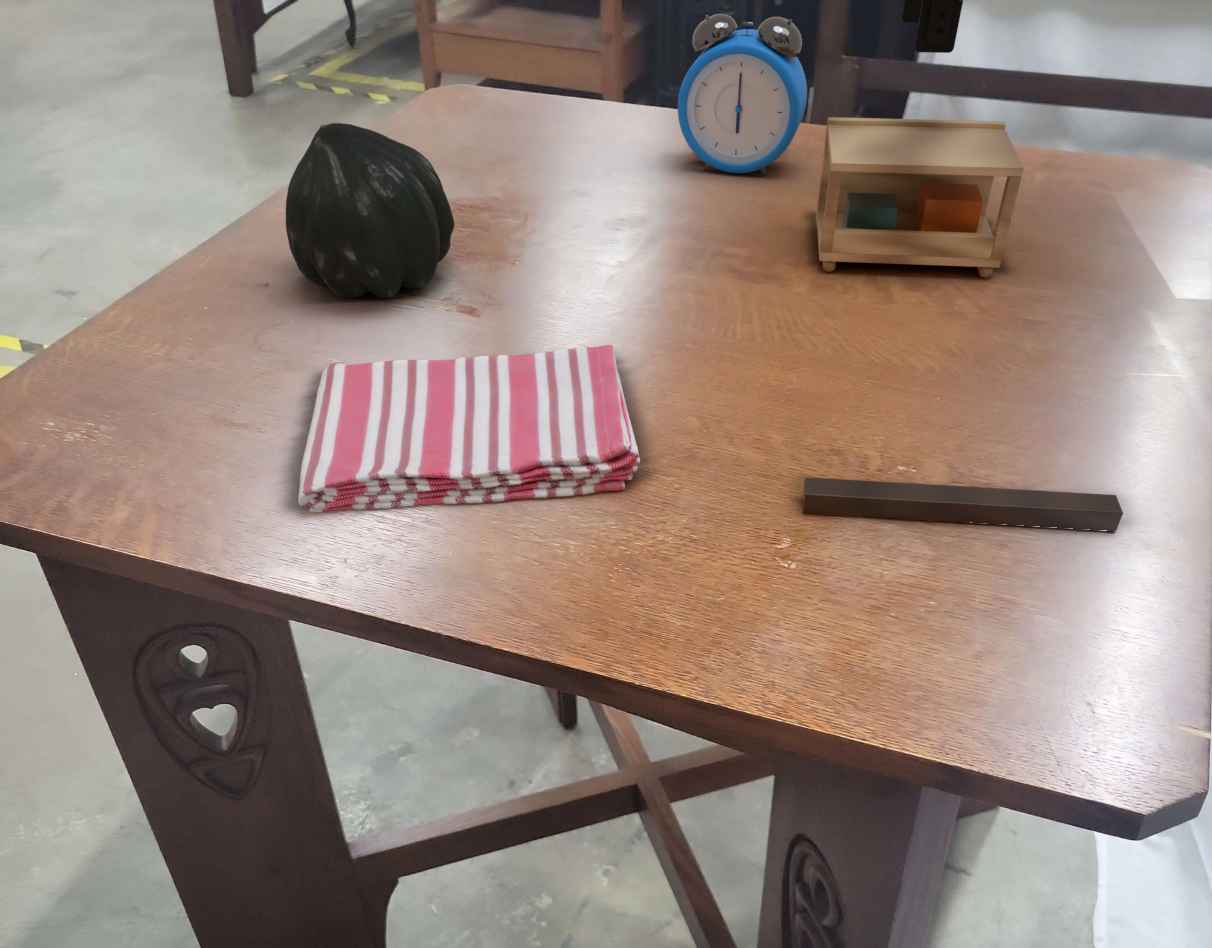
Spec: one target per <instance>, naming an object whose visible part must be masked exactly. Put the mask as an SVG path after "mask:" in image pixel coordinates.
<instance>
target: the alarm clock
mask: <svg viewBox="0 0 1212 948" xmlns="http://www.w3.org/2000/svg"><path fill="white" fill-rule="evenodd" d="M704 17H705V18H704V20H702V21H701V22H699V24H698V25H697V27H695V30H694V31H693V34H692V38H691V39H692V40H691V41H692V48H693V50H694V52H699V51H702V50H703V51H702V52H701V53H700V54H699V56H698V57H697V58H696V59H695V61H694V62H693V63H692V65H691V66H690V67H689V69H688V70H687V72H686V73H685V75H684V78H683V79H682V83H681V85H680V88H679V92H678V97H677V118H678V124H679V127H680V131H681V134H682V135H683V138H684V140H685V142H686V144H687V145H688V147H689V148H690V150H691V151H692V152H693V153H694V154H695V155H696V157H698V158H699V159H700V160H701V161H703V162H704V163H705V164H704V166H703V169H704V170H705V171H706V170H707V169H708V167H709V166H710V167H712V168H713V169H715V170H719V171H721V172H724V173H730V174H747V173H753V172H756V171H759V170H760V171H761V173H762V174H763V176H764V175H766V176H767V170H766V167H768V166H769V165H771V164H773V163H774V162H775V161H776V160H778V159H779V158H780V157H781V156H782V155H783V154H784V153H785V152H786V150H787V149H788V148H789V146H790V145H791V143H792V142H793V140H794V137H795V136H796V134H797V131H798V129H799V128H800V125H801V123H802V120H803V118H804V114H805V111H806V107H807V102H808V85H807V84H808V83H807V78H806V74H805V71H804V67H803V66H802V63H801V61H800V60H799V58H798V56H799V55H800V53H801V50H802V47H803V39H802V34H801V32H800V30H799V29H798V27H797V26H796V24H795V23H794V22H793V19H792V18H789V19H787V18H785V17H781V16H771V17H768V18H767V19H765V20H764V21H762V22H761V24H760V25H759V26H758V28H757V29H753V28H752V29H751V28H749V27H753V26H754V25H753V24H754V22H753V21H742V26H743V27H746V29H745V28H744V29H738V24H737V22H736V20H735V19H734V18H733V17H732V16H731V15H729V14H725V13H716V14H713V15H711V16H709V14H706V15H705V16H704ZM737 29H738V30H737ZM704 170H703V171H704Z"/></svg>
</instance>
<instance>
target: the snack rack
mask: <svg viewBox="0 0 1212 948" xmlns="http://www.w3.org/2000/svg"><path fill="white" fill-rule="evenodd" d="M1006 127H1007V123H1006V122H1005V121H1003V120H1001V121H999V120H967V119H966V120H962V119H961V120H960V119H959V120H957V119H922V118H920V119H919V118H918V119H917V118H882V117H881V118H879V117H876V118H875V117H873V118H872V117H836V116H835V117H834V116H829V117H827V121H826V129H825V137H824V144H823V145H824V146H823V155H822V163H821V169H820V170H821V171H820V179H819V188H818V196H817V203H816V204H817V205H816V206H817V207H816V211H815V222H816V233H817V234H816V235H817V247H818V261H819V262H822V263H821V264H822V269H823V270H824V272H827V273H830V272H831V273H832V272H833V271H834V270H835V269H836V266H837V262H838V263H839V262H840V263H866V264H893V265H919V266H944V267H945V266H946V267H974V268H976V269H977V272H978V274H979V276H980V277H981V278H983V279H987V278H989V277H991V276H992V274H993V273H994V269H993V268H996V269H997V268H1001V263H1002V259H1003V256H1004V251H1005V247H1006V243H1007V239H1008V234H1009V231H1010V226H1011V222H1012V218H1013V214H1014V212H1015V211H1014V210H1015V207H1016V202H1017V198H1018V194H1019V189H1020V186H1021V181H1022V177H1023V174H1024V169H1025V168H1024V167H1025V166H1024V165H1023V162H1022V161H1021V159H1020V157H1019V155H1018V153H1017V151H1016V149H1015V146H1014V145H1013V143H1012V141H1011V139H1010V136H1009V134H1008V133H1007V130H1006ZM995 177H1006V179H1005V184H1004V189H1003V192H1002V197H1001V202H1000V205H999V210H998V214H997V218H996V223H995V227H994V230H993V233H992V229H991V227H990V225H989V224H990V223H989V222H988V219H987V217H986V215H987V210H988V205H989V202H990V197H991V192H992V187H993V183H994V180H995Z"/></svg>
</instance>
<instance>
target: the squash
mask: <svg viewBox="0 0 1212 948" xmlns="http://www.w3.org/2000/svg"><path fill="white" fill-rule="evenodd" d="M454 229H455V218H454V215H453V211H452V208H451V205H450V202H449V200H448V197H447V195H446V192H445V190H444V187H443V184H442V182H441V179H440V177H439V175H438V174H437V172H436V170H435V168H434V166H433V165H432V163H431V162H430V161H429V159H428V158H427V157H426V156H425V155H423V154H422V153H421V152H419V151H418V150H417V149H416V148H413V147H411V146H410V145H407V144H404V143H402V142H399V141H397V140H395V139H393V138H390V137H388V136H386V135H384V134H382V133H379V132H377V131H374V130H372V129H369V128H365V127H362V126H358V125H354V124H351V123H343V122H333V123H328V124H324V123H323V124H321V125H320V126H319V128H318V130H317V131H316V132H315V134H314V135H313V138H312V139H311V141H310V144H309V145H308V147H307V149H306V150H305V152H304V155H303V156H302V158H301V159H300V160H299V162H298V163H297V166H296V167H295V169H294V172H293V173H292V176H291V178H290V181H289V185H288V187H287V194H286V200H285V232H286V236H287V240H288V246H289V250H290V253H291V255H292V257H293V259H294V261H295V264H296V266H297V268H298V270H299V272H300V273H301V275H303V277H304V278H305V279H306V280H307V281H310V283H312V284H313V285H316V286H317V287H321V288H323V289H327V290H331V291H332V292H333V293H334V294H335V295H338V296H340V297H343V298H359V297H362V296H364V295H365V294H367V293H368V292H370V293H372V294H373V295H375V296H376V297H378V298H382V299H391V298H394V297H396V295H397V294H398V293H399V291H400V290H401V287H402V288H405V289H409V290H418V289H421V288H422V287H425V286H427V285H428V284H429V283H431V281H432V279H433V278H434V276H435V274H436V271H437V268H438V264H439V263H440V262H441V261H443V260H444V258H445V257H446V256H447V255H448V253H449V251H450V248H451V241H452V234H453V231H454Z"/></svg>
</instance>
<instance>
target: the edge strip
mask: <svg viewBox="0 0 1212 948" xmlns="http://www.w3.org/2000/svg"><path fill="white" fill-rule="evenodd" d="M802 487H803V488H802V494H801V497H802V498H801V499H802V502H801V503H802V513H803V515H804V514H806V515H820V514H825V515H824V516H838V517H839V516H840V517H855V518H870V517H874V518H873V519H887V518H889V519H890V518H895V519H894V520H903V519H907V520H908V521H920V520H924V521H923V522H930V521H929V520H932V521H931V522H937V521H943V522H942V523H946V522H945V521H948V522H947V523H953V522H968V523H967V524H970V523H969V522H973V523H987V524H1007V525H1024V526H1040V527H1057V528H1073V529H1090V530H1107V531H1116V532H1117V531H1118V528H1119V525H1120V522H1121V520H1122V518H1123V514H1124V511H1123V509H1122V506H1121V504H1120V502H1119V498H1118V496H1117V495H1116V494H1104V493H1090V492H1089V493H1086V492H1071V491H1070V492H1069V491H1053V490H1052V491H1051V490H1034V489H1033V490H1032V489H1020V488H1019V489H1016V488H1003V487H1002V488H1001V487H983V486H966V485H965V486H964V485H947V484H929V483H914V482H913V483H912V482H896V481H879V480H877V481H875V480H859V479H857V480H856V479H841V478H823V477H807V476H806V477H804V481H803V486H802ZM859 516H861V517H859ZM912 519H913V520H912ZM890 520H891V519H890ZM907 520H906V521H907Z"/></svg>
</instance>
